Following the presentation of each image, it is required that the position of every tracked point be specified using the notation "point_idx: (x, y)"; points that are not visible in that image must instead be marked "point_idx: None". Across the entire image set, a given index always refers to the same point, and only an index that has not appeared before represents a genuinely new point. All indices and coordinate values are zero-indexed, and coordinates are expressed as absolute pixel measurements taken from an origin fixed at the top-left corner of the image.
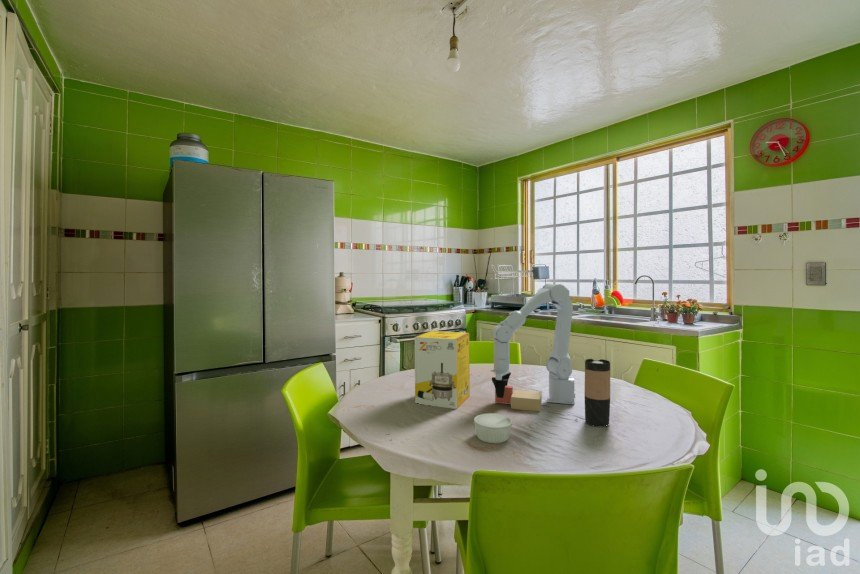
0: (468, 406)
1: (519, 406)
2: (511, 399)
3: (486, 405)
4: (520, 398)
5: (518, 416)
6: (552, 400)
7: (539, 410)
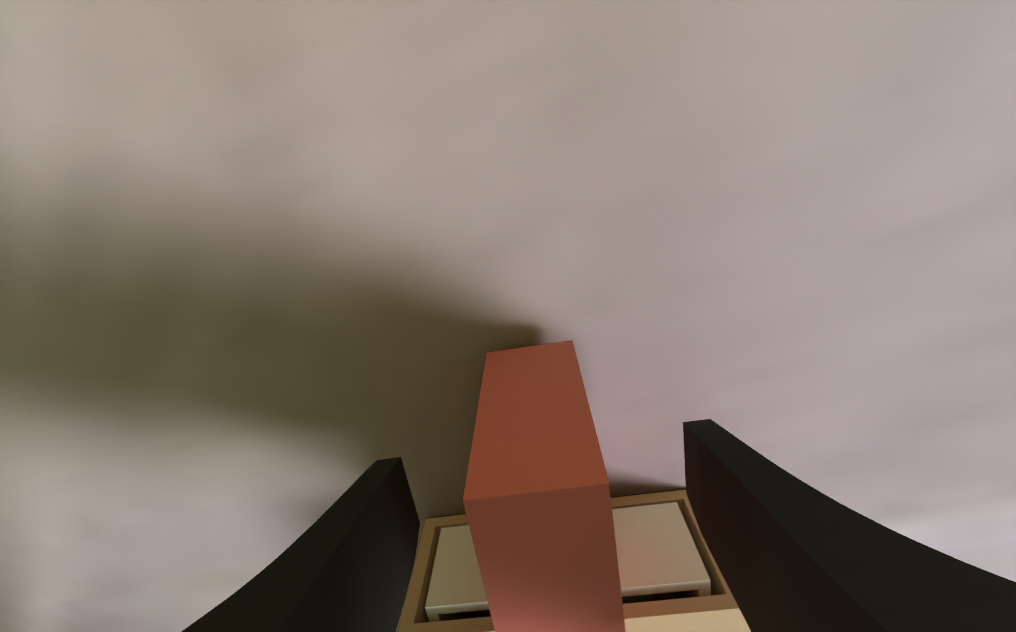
0: (202, 38)
1: None
2: (404, 611)
3: (385, 262)
4: None
5: None
6: None
7: None
